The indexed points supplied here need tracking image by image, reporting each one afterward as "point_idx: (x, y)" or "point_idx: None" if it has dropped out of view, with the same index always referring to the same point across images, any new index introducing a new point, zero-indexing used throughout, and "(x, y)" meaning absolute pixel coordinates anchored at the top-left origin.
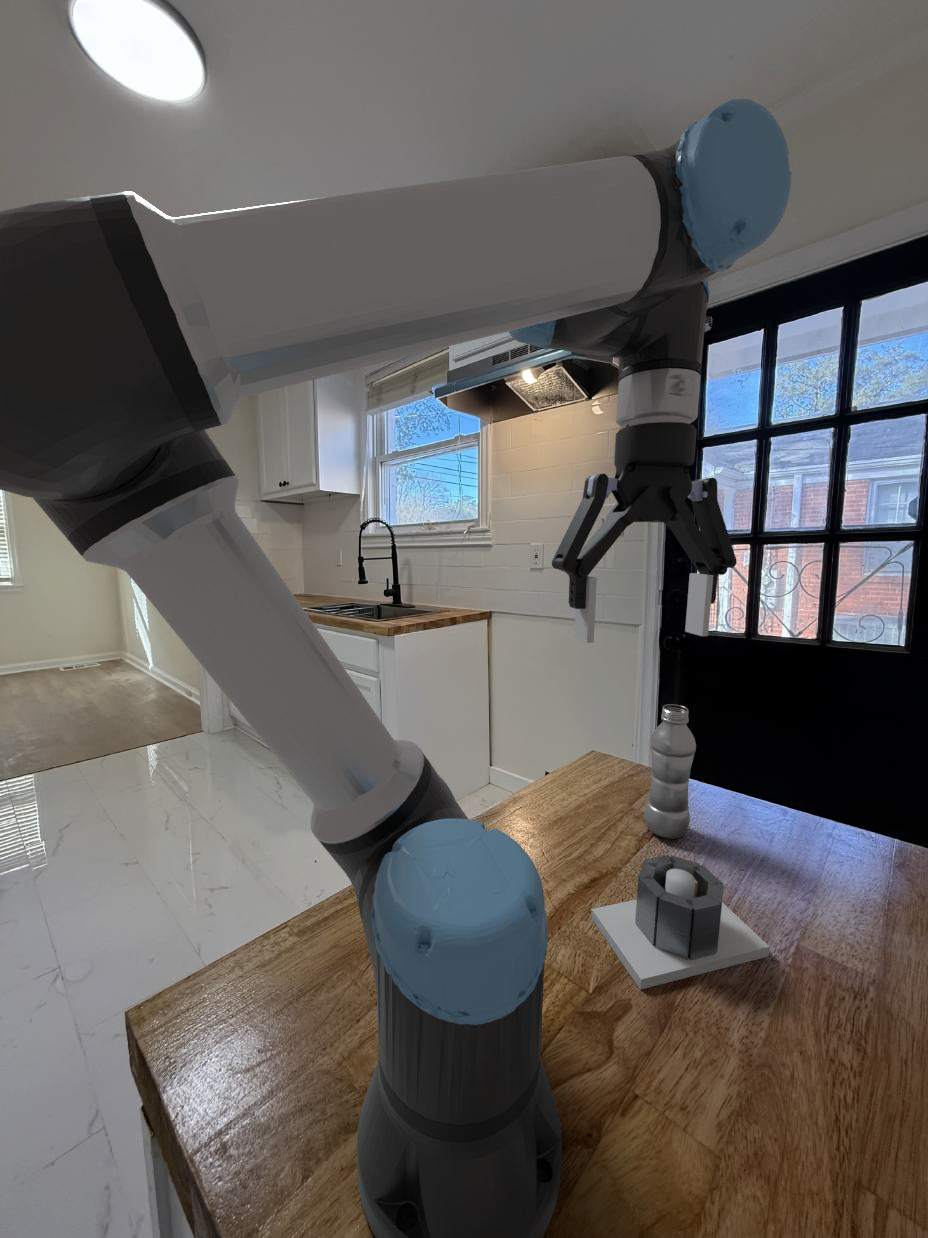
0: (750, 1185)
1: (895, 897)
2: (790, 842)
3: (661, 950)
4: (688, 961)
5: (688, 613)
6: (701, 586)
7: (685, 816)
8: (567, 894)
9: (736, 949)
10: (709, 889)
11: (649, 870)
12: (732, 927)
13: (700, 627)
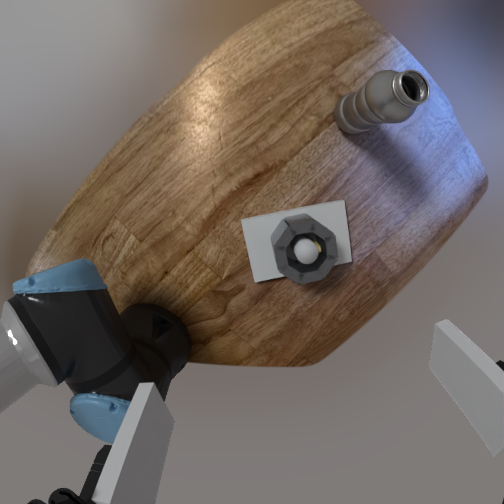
0: (263, 357)
1: (455, 217)
2: (437, 150)
3: None
4: None
5: (457, 354)
6: (485, 427)
7: (368, 130)
8: (229, 192)
9: None
10: (323, 264)
11: (286, 239)
12: (338, 244)
13: (437, 373)
